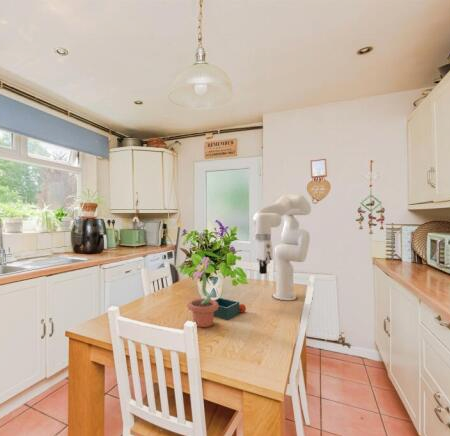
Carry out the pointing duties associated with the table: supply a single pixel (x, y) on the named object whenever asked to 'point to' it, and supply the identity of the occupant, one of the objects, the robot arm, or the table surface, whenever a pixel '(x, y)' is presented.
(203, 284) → the decorative flower
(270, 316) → the table surface
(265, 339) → the table surface
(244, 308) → the ball
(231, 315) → the box
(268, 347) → the table surface
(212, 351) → the table surface
